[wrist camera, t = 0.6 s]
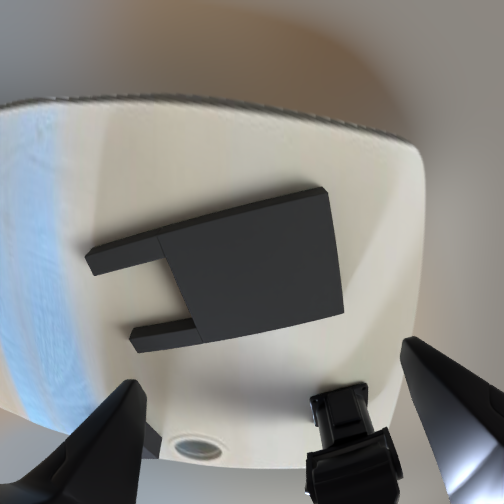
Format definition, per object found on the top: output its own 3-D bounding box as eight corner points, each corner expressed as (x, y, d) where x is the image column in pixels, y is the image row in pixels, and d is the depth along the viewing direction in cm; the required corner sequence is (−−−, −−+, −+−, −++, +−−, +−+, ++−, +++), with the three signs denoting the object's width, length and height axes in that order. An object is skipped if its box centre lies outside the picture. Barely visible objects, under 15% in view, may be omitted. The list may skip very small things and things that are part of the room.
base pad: (340, 302, 25) (344, 313, 23) (141, 342, 26) (137, 353, 25) (322, 186, 20) (328, 192, 19) (91, 247, 22) (83, 256, 21)
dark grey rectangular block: (162, 437, 35) (158, 459, 31) (130, 438, 35) (125, 458, 32) (141, 416, 32) (135, 439, 29) (108, 417, 33) (102, 438, 30)
